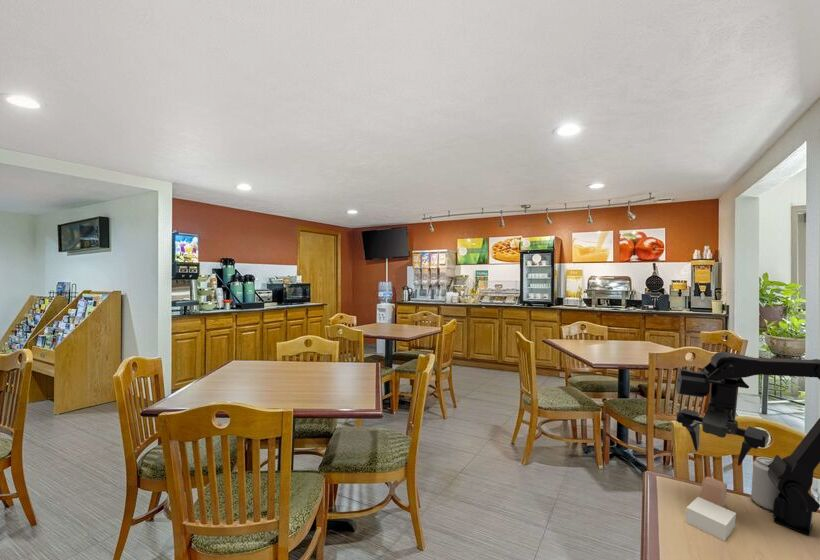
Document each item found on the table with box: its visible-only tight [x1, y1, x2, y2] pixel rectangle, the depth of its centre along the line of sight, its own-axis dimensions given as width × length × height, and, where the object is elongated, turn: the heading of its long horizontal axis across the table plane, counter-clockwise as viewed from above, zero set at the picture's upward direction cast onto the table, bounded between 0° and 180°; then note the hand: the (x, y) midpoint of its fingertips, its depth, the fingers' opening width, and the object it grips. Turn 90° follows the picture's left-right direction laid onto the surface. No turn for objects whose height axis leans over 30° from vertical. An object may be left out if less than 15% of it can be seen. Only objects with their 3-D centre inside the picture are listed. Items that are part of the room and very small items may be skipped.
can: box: [750, 456, 780, 511], centre depth 108 cm, size 8×8×12 cm
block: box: [700, 476, 728, 508], centre depth 108 cm, size 4×4×6 cm
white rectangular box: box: [685, 496, 737, 542], centre depth 99 cm, size 8×8×4 cm
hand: (717, 457), depth 107 cm, fingers open, 9 cm apart
